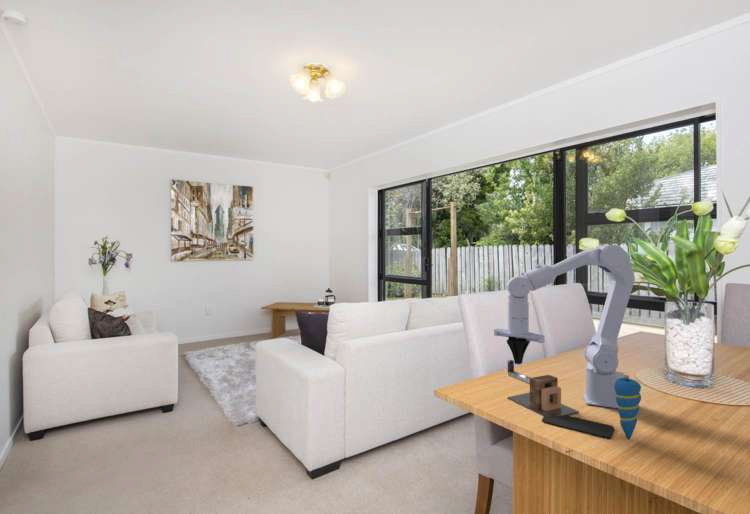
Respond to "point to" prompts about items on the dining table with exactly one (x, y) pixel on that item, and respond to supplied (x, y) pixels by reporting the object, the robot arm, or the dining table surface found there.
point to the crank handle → (516, 374)
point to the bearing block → (539, 384)
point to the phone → (581, 425)
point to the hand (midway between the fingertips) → (518, 363)
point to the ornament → (628, 403)
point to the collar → (556, 398)
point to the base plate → (525, 401)
